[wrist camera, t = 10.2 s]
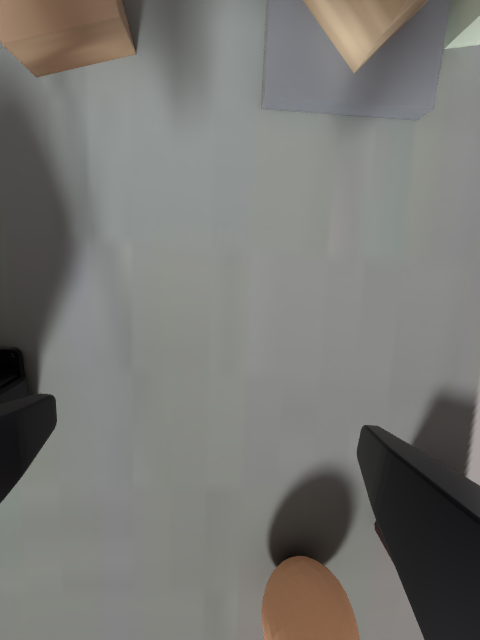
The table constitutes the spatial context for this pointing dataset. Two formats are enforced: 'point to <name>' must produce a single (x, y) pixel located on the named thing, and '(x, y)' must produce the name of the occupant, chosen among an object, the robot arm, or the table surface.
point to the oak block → (361, 24)
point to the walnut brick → (64, 33)
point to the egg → (306, 604)
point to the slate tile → (337, 77)
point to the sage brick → (463, 24)
